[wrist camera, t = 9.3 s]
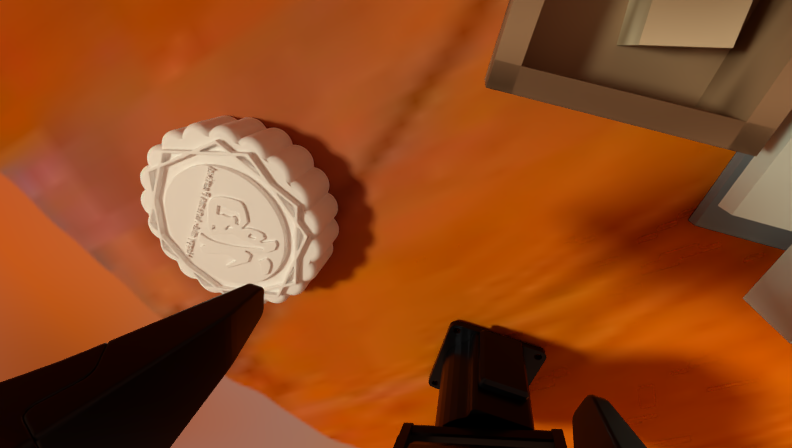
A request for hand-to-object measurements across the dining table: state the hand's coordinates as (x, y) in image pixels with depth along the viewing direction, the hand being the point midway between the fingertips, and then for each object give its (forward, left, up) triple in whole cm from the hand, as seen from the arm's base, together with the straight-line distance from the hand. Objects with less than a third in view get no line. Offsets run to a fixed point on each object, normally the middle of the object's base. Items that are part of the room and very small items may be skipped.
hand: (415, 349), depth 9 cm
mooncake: (-5, +12, -12) cm, 18 cm away
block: (+10, -6, -11) cm, 16 cm away
